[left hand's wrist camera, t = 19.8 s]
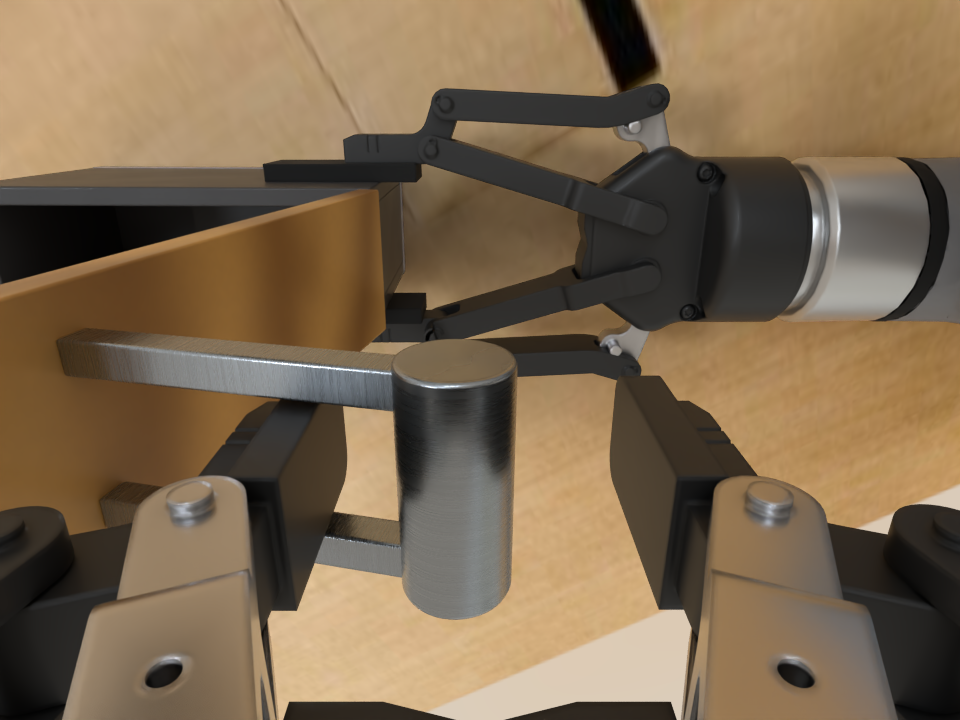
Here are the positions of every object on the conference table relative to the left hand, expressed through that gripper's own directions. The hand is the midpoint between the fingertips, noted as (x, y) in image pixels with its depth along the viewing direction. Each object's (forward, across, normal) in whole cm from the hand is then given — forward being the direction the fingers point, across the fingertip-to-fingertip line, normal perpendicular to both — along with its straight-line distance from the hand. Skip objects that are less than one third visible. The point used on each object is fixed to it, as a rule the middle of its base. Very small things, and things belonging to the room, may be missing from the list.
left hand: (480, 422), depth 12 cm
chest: (+25, -12, 0) cm, 28 cm away
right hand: (+18, -9, 0) cm, 20 cm away
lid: (+6, -7, 0) cm, 9 cm away
